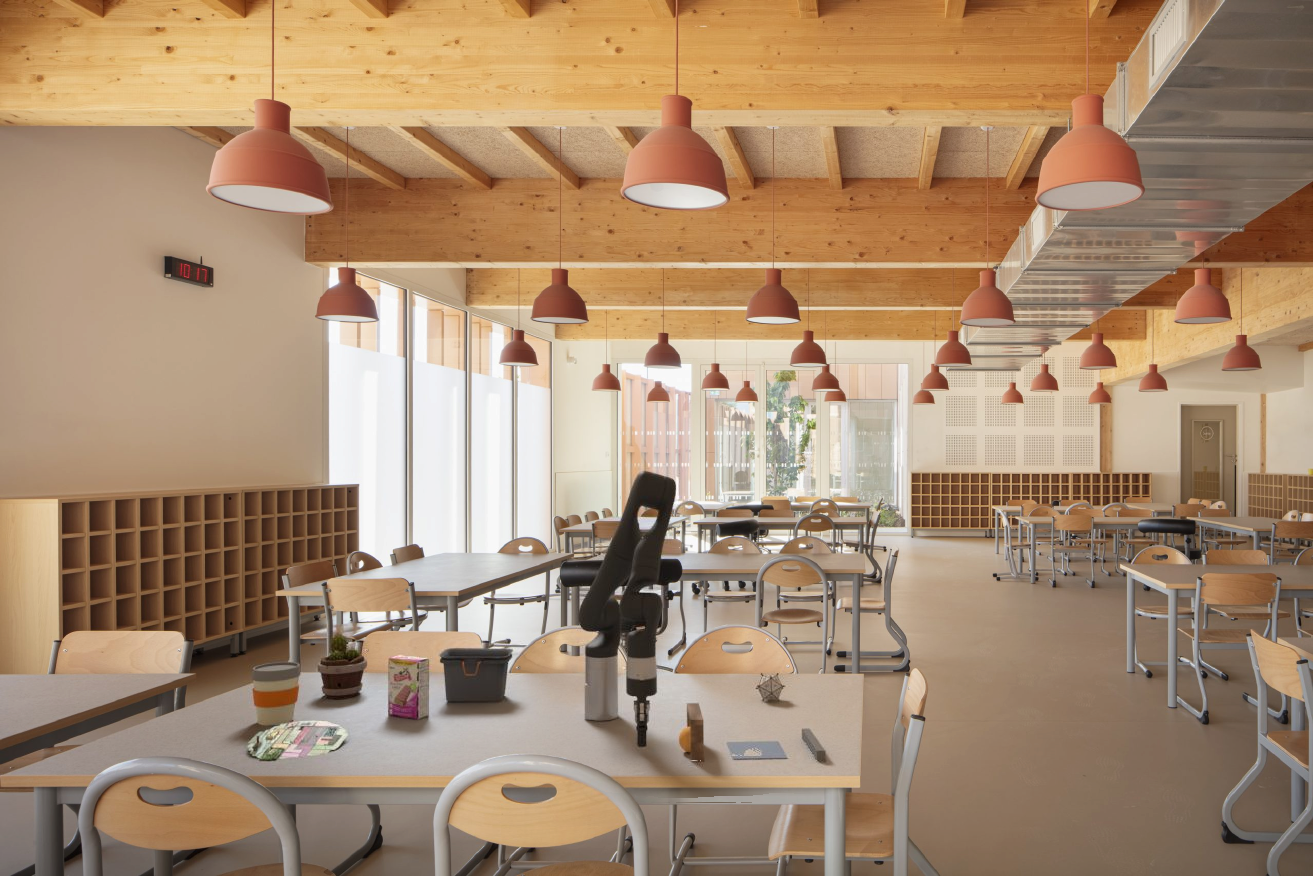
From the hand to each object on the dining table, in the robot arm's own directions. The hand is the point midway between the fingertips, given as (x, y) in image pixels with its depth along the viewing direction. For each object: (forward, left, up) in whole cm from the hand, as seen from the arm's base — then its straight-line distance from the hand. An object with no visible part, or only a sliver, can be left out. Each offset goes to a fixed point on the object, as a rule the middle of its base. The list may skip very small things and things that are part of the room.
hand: (641, 746), depth 209 cm
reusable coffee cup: (-102, +33, -2) cm, 107 cm away
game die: (+39, +47, -2) cm, 61 cm away
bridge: (+13, 0, -2) cm, 13 cm away
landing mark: (+28, 0, -2) cm, 28 cm away
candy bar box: (-66, +36, -2) cm, 75 cm away
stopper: (+42, 0, -2) cm, 42 cm away
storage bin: (-50, +53, -2) cm, 73 cm away
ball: (+12, 0, +2) cm, 12 cm away
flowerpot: (-93, +61, -2) cm, 111 cm away
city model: (-87, +9, -2) cm, 87 cm away
